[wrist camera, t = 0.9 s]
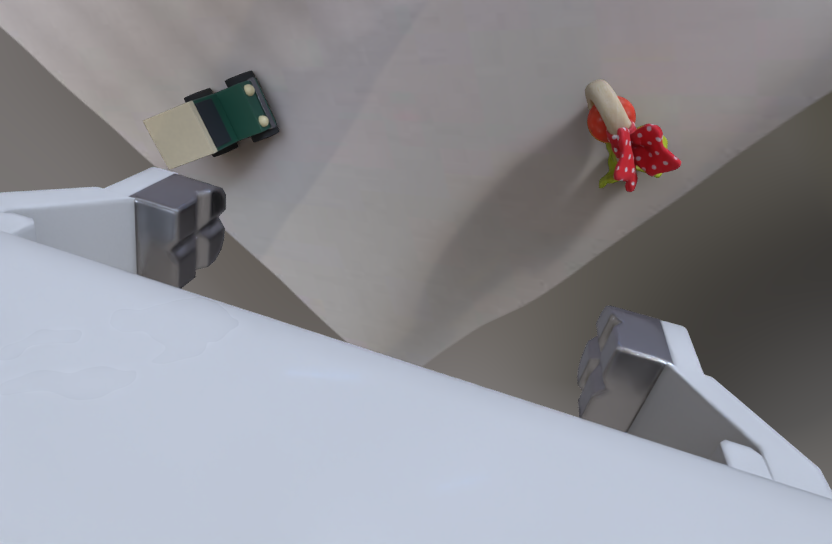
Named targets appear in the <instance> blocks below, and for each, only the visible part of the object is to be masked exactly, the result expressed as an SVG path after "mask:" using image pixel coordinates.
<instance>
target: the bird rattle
mask: <svg viewBox="0 0 832 544" xmlns="http://www.w3.org/2000/svg"><path fill="white" fill-rule="evenodd" d="M585 95H586V99H587V103H588V109H589V114H588V118H587V125H588V129H589V131H590V133H591V135H592V136H593V137H594V138H595V139H597V140H598V141H600V142H603V143H605V144H606V147H607V150H608V152H609V159H608V165H609V172H608V173H607V174H606V175H605V176H604V177H602V178H601V179H600V181H599V188H604V187H605V186H606V184H607V183H615V182H618V181H626V184H625V188H626V191H627V192H632V191H634V189H635V187H636V184H637V179H638V178H637V173H636V170H638V171H641V172H645V173H647V174H648V175H650V176H651V177H653V176H654V177H656V178H659V177H660V176H661V175H662V173H664V172H669V171H673V170H676V169H678V168H679V167H680V165H681V161H680V160H679V159H678V158H677V157H676V156H675V155H673V154H672V153H671V152H670V151H669V150H668V149H667V144H668V142H667V139H666V138H665V137H664V136H663V133H662V130H661V128H660V127H659V126H657V125H652V124H646V125H643V126H640V127H638V128H637V129H636V127H635V120H636V114H635V110H634V108H633V106H632V104H631V103H630V102H629V101H628V100H626V99H625V98H623V97H620V96H617V95H616V94H615V92H614V90H613V89H612V88H611V86H610V85H609V84H608V83H607V82H606V81H605V80H602V79H598V80H595V81H593V82H591V83H590V84H588V85H587V87H586V89H585Z"/></svg>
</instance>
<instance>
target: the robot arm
mask: <svg viewBox="0 0 832 544" xmlns="http://www.w3.org/2000/svg"><path fill="white" fill-rule="evenodd" d="M225 210H226V194H225V192H224V190H223V189H222V188H220V187H217V186H214V185H211V184H208V183H205V182H202V181H199V180H195V179H192V178H189V177H186V176H183V175H179V174H178V173H176V172H172V171H168V170H164V169H160V168H156V167H151V168H149V169H147V170H144V171H142V172H140V173H138V174H135V175H133V176H131V177H129V178H126V179H124V180H122V181H120V182H117V183H115V184H113V185H111V186H108V187H106V188H104V189H103V188H100V187H81V188H66V189H49V190H34V191H17V192H2V193H0V544H832V491H831V489H830V487H829V485H828V483H827V481H826V479H825V478H824V476H823V474H822V472H821V470H820V468H819V467H817V466H816V465H815V464H814V463H813V462H811V461H810V460H809V459H808V458H807V457H806V456H804V455H803V454H802V453H801V452H800V451H798V450H797V449H796V448H795V447H794V446H793V445H791V444H790V443H789V442H788V441H787V440H785V439H784V438H783V437H782V436H781V435H780V434H778V433H777V432H776V431H775V430H774V429H772V428H771V427H770V426H769V425H768V424H767V423H766V422H764V421H763V420H762V419H761V418H760V417H758V416H757V415H756V414H755V413H754V412H752V411H751V410H750V409H749V408H748V407H747V406H745V405H744V404H743V403H742V402H741V401H739V400H738V399H737V398H736V397H735V396H734V395H733V394H731V393H730V392H729V391H728V390H727V389H725V388H724V387H723V386H722V385H721V384H719V383H718V382H717V381H716V380H715V379H714V378H713V377H710V376H707V375H704V374H703V371H702V368H701V366H700V363H699V360H698V358H697V355H696V353H695V350H694V347H693V345H692V342H691V339H690V337H689V334H688V332H687V329H686V328H684V327H683V326H680V325H677V324H673V323H669V322H665V321H661V320H660V319H657V318H653V317H649V316H646V315H642V314H638V313H635V312H632V311H628V310H624V309H621V308H617V307H614V306H606V307H605V308H604V310H603V311H602V313H601V314H600V316H599V318H598V321H597V323H596V324H597V336H596V337H594V338H593V339H591V340H589V341H588V342H587V344H586V347H585V349H584V352H583V354H582V357H581V360H580V364H579V368H578V376H577V381H578V386H579V387H580V388H581V390H582V393H581V395H580V398H579V399H578V402H579V417H575V416H572V415H569V414H566V413H563V412H560V411H557V410H554V409H551V408H548V407H545V406H541V405H538V404H535V403H532V402H529V401H526V400H523V399H520V398H516V397H514V396H510V395H507V394H504V393H501V392H498V391H495V390H492V389H489V388H486V387H483V386H479V385H476V384H473V383H470V382H467V381H464V380H461V379H458V378H455V377H452V376H448V375H445V374H442V373H439V372H436V371H433V370H430V369H427V368H424V367H421V366H417V365H414V364H411V363H408V362H405V361H402V360H399V359H396V358H393V357H390V356H387V355H383V354H380V353H377V352H374V351H371V350H368V349H365V348H362V347H359V346H356V345H353V344H349V343H346V342H343V341H340V340H337V339H334V338H331V337H328V336H324V335H322V334H318V333H315V332H312V331H309V330H306V329H303V328H300V327H297V326H294V325H291V324H288V323H285V322H282V321H278V320H275V319H272V318H269V317H266V316H263V315H260V314H257V313H254V312H251V311H247V310H244V309H241V308H238V307H235V306H232V305H229V304H226V303H223V302H220V301H217V300H214V299H210V298H208V297H204V296H201V295H198V294H195V293H192V292H189V291H186V290H183V289H181V288H182V287H184V286H185V285H186V284H187V283H189V282H190V281H191V280H192V279H193V278H195V274H196V272H195V271H196V270H197V269H201V268H206V267H208V266H209V265H211V264H212V263H213V262H214V261H215V260H216V258H217V256H218V255H219V253H220V251H221V248H222V245H223V241H224V231H225V228H224V226H223V224H222V223H221V221H220V219H219V216H220V215H221V214H222V213H223V212H224V211H225Z"/></svg>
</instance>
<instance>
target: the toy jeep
mask: <svg viewBox="0 0 832 544" xmlns="http://www.w3.org/2000/svg"><path fill="white" fill-rule="evenodd" d="M225 83H226V85H227V87H228V88H226V89H224V90H221V91H219V92H217V93H214V94H213V93H212V90H211V89H210V88H208V89H205V90H202V91H200V92H197V93H194V94H192V95H189V96H187V97H185V98H184V100H185V102H186V103H184V104H182V105H180V106H177V107H175V108H172V109H170V110H168V111H165V112H163V113H160V114H158V115H156V116H153V117H151V118H148V119H146V120H144V121H143V123H144V124H145V126H146V128H147V130H148V132H149V134H150V135H151V137H152V139H153V141H154V143H155V145H156V147H157V148H158V150H159V152H160V154H161V156H162V158H163V159H164V161H165V163H166V165H167V167H168V169H169V170H170V169H173V168H176V167H178V166H181V165H184V164H186V163H189V162H192V161H195V160H197V159H200V158H203V157H205V156H208V155H211V154H212V155H213V157H216V156H219V155H221V154H224V153H226V152H229V151H231V150H233V149H235V148H237V147H238V144H237V141H240V140H242V139H245V138H248V137H250V136H251V137H252V140H253V142H257V141H260V140H262V139H265V138H268V137H270V136H272V135H274V134H276V133H278V132H279V129H278V127H277V124H276V121H275V119H274V117H273V115H272V113H271V110H270V108H269V106H268V104H267V101H266V99H265V97H264V95H263V93H262V90H261V88H260V86H259V84H258V82H257V79H256V78H255V76H254V74H253V72H252V71H248V72H245V73H242V74H240V75H237V76H234V77H232V78H230V79H227V80H226V81H225Z"/></svg>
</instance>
